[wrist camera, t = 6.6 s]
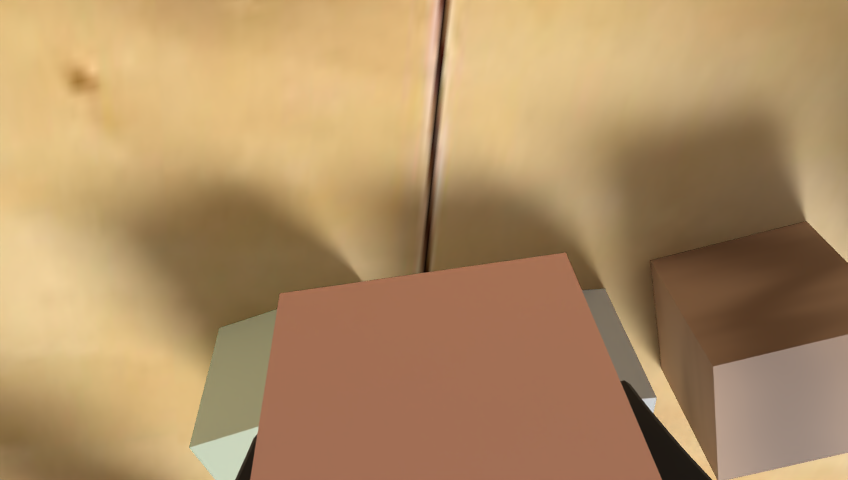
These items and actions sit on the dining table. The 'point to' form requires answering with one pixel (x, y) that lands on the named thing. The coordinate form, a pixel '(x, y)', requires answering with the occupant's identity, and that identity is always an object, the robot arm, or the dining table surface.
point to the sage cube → (233, 395)
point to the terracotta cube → (447, 381)
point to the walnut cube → (758, 347)
